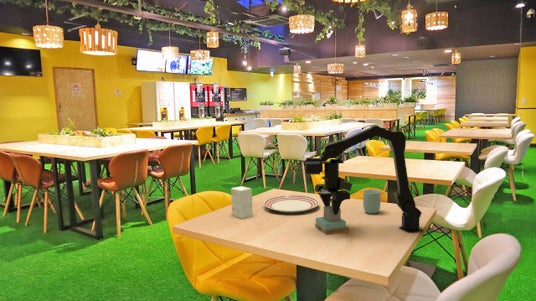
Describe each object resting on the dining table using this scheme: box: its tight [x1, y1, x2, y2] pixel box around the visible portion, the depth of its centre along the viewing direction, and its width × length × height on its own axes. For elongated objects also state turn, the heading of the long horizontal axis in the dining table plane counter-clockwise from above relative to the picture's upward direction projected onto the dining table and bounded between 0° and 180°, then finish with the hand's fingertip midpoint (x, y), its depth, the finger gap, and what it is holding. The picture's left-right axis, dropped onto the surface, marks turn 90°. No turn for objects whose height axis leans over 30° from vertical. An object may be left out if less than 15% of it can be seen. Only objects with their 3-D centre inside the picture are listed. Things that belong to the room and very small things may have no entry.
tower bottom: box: [314, 223, 350, 235], centre depth 154 cm, size 10×10×2 cm
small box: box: [230, 185, 254, 219], centre depth 175 cm, size 8×6×13 cm
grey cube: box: [323, 205, 342, 222], centre depth 153 cm, size 5×5×5 cm
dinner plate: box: [263, 194, 320, 214], centre depth 188 cm, size 28×27×3 cm
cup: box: [362, 189, 382, 215], centre depth 175 cm, size 8×8×10 cm
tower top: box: [315, 216, 347, 230], centre depth 154 cm, size 9×9×2 cm
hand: (331, 212), depth 153 cm, fingers open, 6 cm apart
